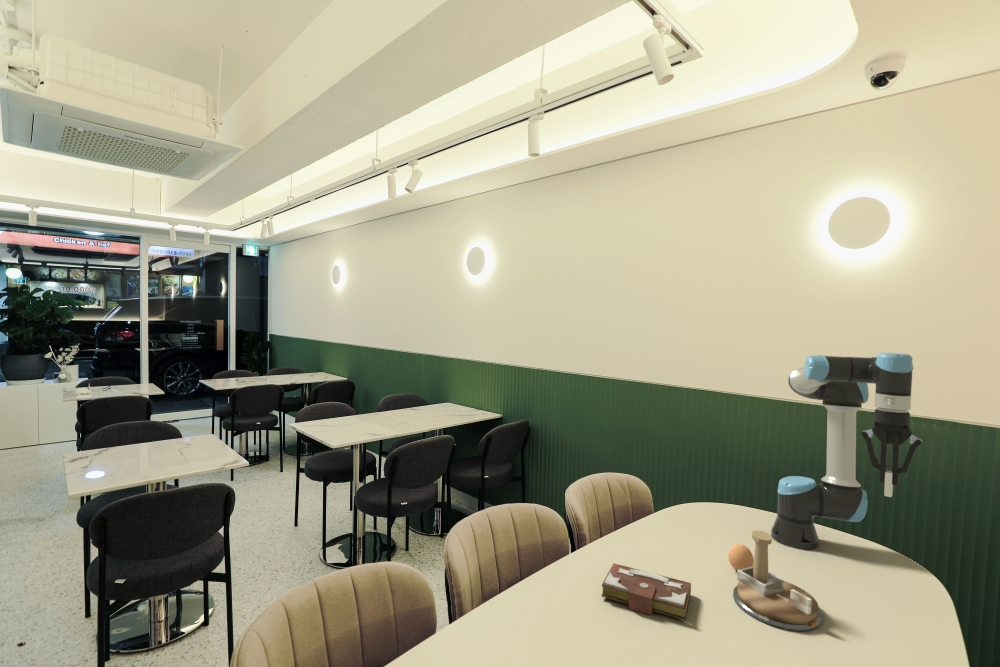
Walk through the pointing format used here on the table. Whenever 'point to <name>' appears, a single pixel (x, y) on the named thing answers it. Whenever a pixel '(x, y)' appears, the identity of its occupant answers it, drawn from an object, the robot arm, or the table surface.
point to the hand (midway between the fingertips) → (888, 495)
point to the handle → (761, 555)
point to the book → (647, 591)
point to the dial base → (777, 624)
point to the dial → (776, 598)
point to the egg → (740, 557)
